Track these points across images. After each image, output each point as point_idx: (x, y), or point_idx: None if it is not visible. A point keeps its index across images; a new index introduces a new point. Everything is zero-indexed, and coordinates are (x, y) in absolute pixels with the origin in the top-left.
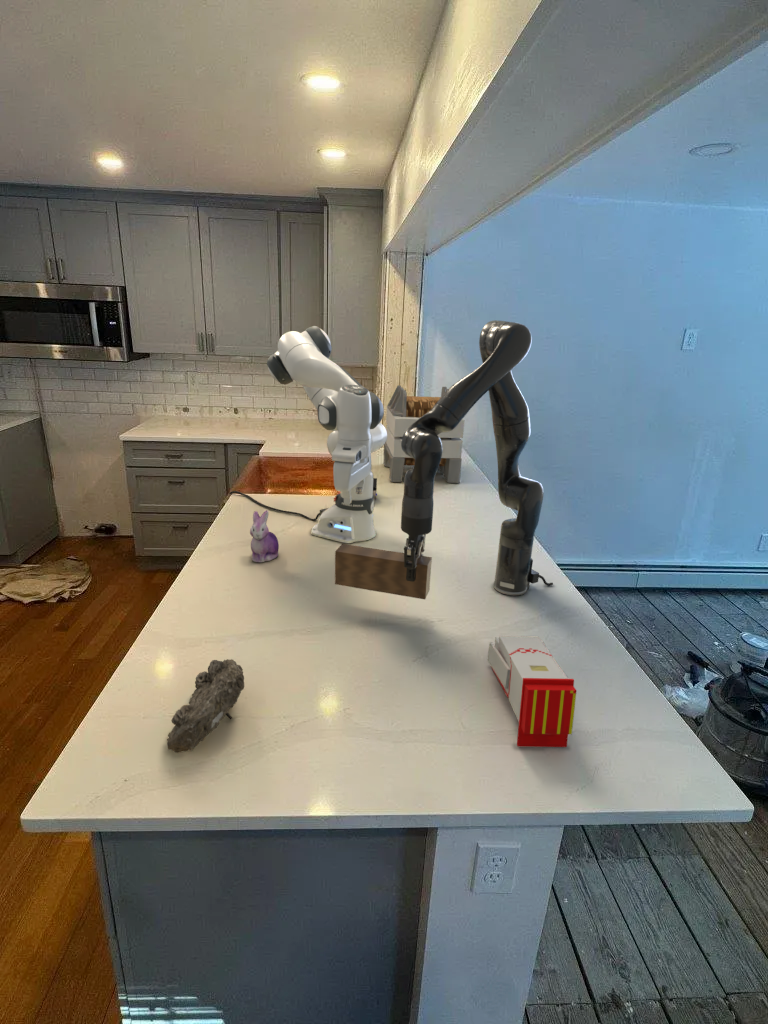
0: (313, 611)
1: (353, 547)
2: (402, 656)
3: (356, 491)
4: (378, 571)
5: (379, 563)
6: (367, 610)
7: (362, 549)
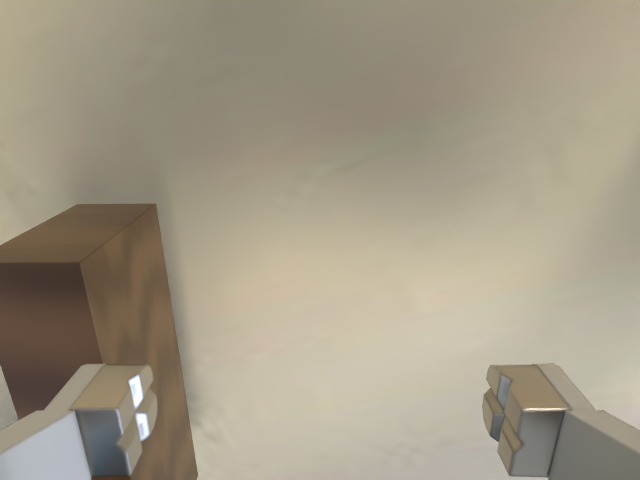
0: (78, 117)
1: (68, 331)
2: None
3: (500, 385)
4: None
5: None
6: (171, 270)
7: (73, 374)
